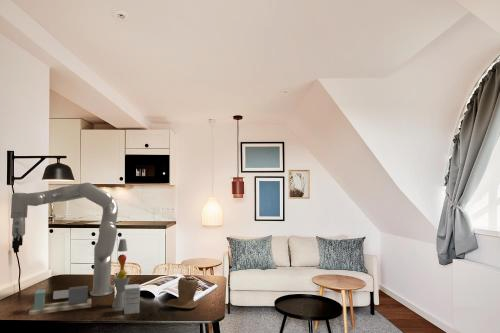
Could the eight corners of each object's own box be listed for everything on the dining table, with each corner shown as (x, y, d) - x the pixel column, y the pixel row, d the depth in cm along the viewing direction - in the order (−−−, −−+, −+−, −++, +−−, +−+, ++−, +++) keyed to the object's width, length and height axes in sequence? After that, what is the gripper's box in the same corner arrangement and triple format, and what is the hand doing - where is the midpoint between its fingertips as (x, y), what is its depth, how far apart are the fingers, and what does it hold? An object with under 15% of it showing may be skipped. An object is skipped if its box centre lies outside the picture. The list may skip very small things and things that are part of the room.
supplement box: (123, 310, 174) (124, 284, 175) (138, 308, 177) (139, 283, 178) (123, 314, 167) (124, 288, 168) (139, 313, 170) (140, 287, 171)
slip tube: (87, 293, 184) (87, 287, 184) (87, 295, 181) (87, 289, 181) (53, 297, 177) (53, 291, 177) (53, 299, 174) (53, 292, 174)
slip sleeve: (87, 300, 184) (87, 285, 185) (87, 303, 180) (88, 287, 181) (68, 302, 180) (69, 287, 181) (68, 305, 176) (68, 289, 177)
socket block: (44, 305, 176) (45, 289, 177) (43, 309, 170) (44, 292, 171) (35, 306, 175) (36, 290, 175) (33, 310, 168) (34, 293, 169)
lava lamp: (109, 304, 182) (112, 238, 185) (127, 301, 187) (129, 237, 190) (113, 309, 175) (115, 240, 178) (131, 306, 180) (133, 239, 182)
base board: (91, 301, 187) (91, 298, 187) (91, 306, 178) (91, 304, 179) (31, 308, 175) (31, 305, 175) (28, 315, 166) (28, 312, 166)
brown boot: (201, 304, 183) (202, 276, 185) (191, 311, 172) (191, 281, 173) (176, 301, 188) (177, 274, 189) (165, 308, 177) (165, 279, 178)
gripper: (24, 216, 180) (22, 248, 179) (29, 214, 196) (27, 244, 194) (7, 216, 177) (5, 249, 176) (13, 214, 192) (12, 245, 191)
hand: (17, 246), depth 185 cm, fingers open, 9 cm apart
